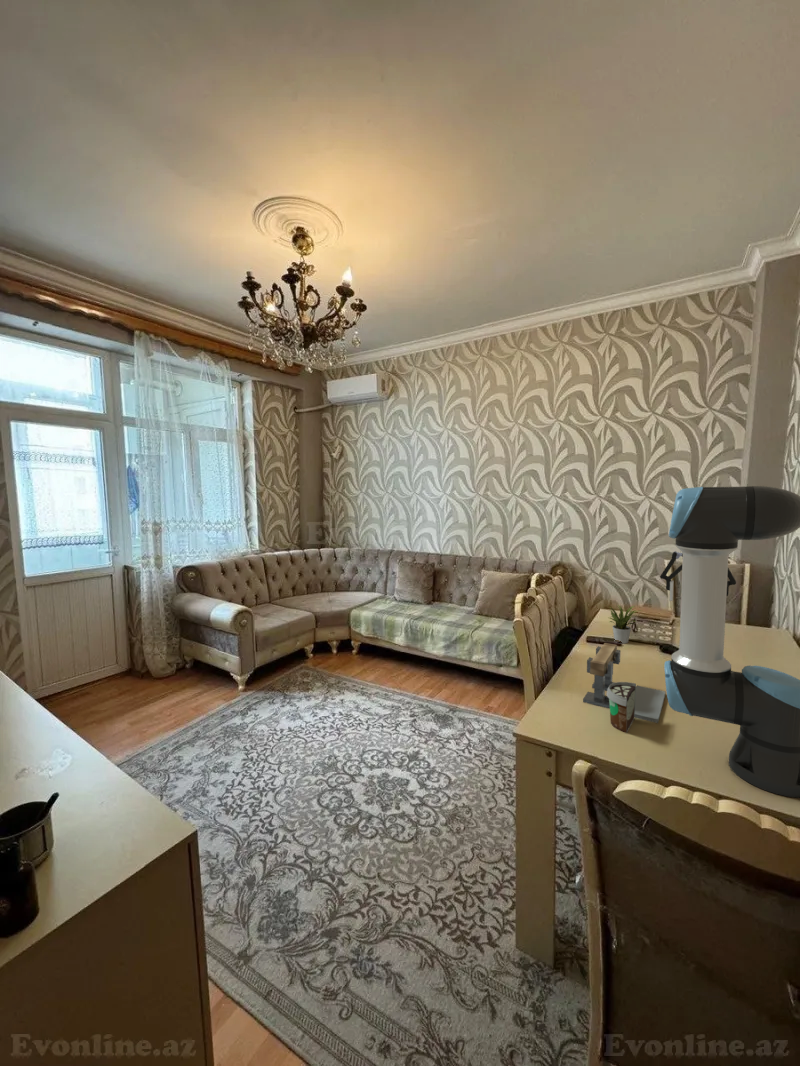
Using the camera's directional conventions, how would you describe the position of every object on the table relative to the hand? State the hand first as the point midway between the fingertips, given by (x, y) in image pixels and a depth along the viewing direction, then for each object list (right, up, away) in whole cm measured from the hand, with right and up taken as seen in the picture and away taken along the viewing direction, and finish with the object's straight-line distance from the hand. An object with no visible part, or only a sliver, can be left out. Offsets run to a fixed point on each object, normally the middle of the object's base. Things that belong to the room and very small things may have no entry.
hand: (695, 603), depth 141 cm
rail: (-32, -19, -4) cm, 37 cm away
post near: (-35, -29, -8) cm, 46 cm away
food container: (-35, -30, -20) cm, 51 cm away
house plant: (0, -24, +45) cm, 51 cm away
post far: (-28, -28, +1) cm, 40 cm away
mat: (-22, -29, -11) cm, 38 cm away
